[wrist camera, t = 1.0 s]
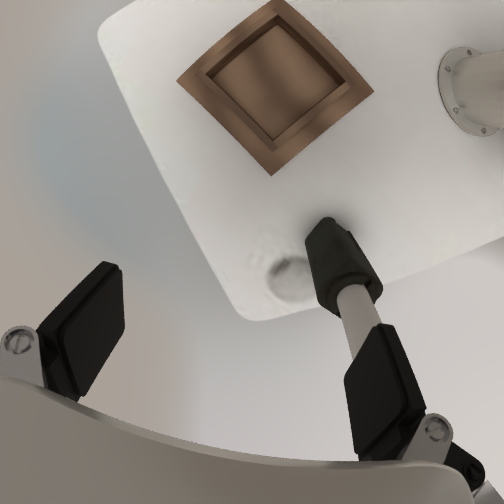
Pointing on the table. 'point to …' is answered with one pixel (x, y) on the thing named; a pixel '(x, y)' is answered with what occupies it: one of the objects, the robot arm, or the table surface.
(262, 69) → the tray
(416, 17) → the table surface
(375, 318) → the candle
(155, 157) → the table surface
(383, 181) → the table surface
